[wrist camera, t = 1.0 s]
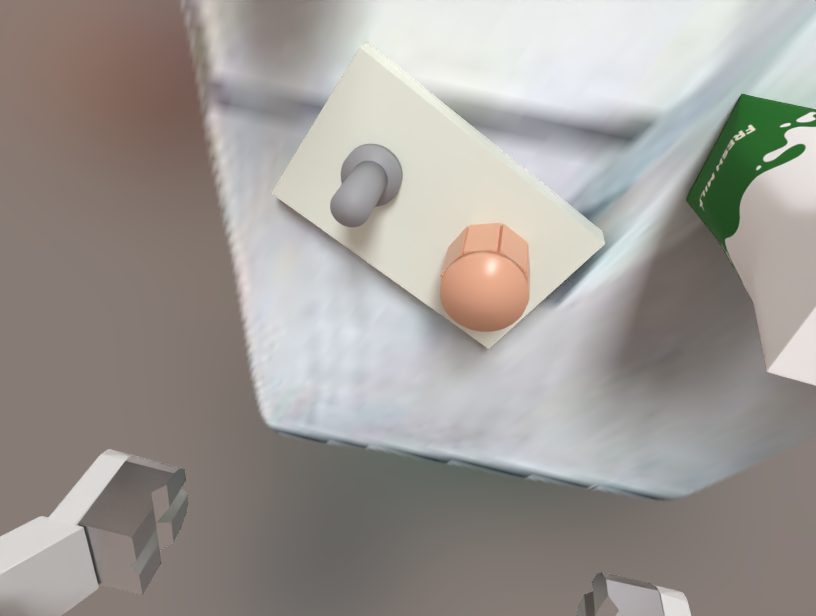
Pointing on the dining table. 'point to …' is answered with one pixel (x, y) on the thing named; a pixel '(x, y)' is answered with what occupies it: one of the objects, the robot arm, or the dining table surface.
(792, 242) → the milk carton
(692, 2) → the dining table surface
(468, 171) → the post board
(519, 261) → the cap
